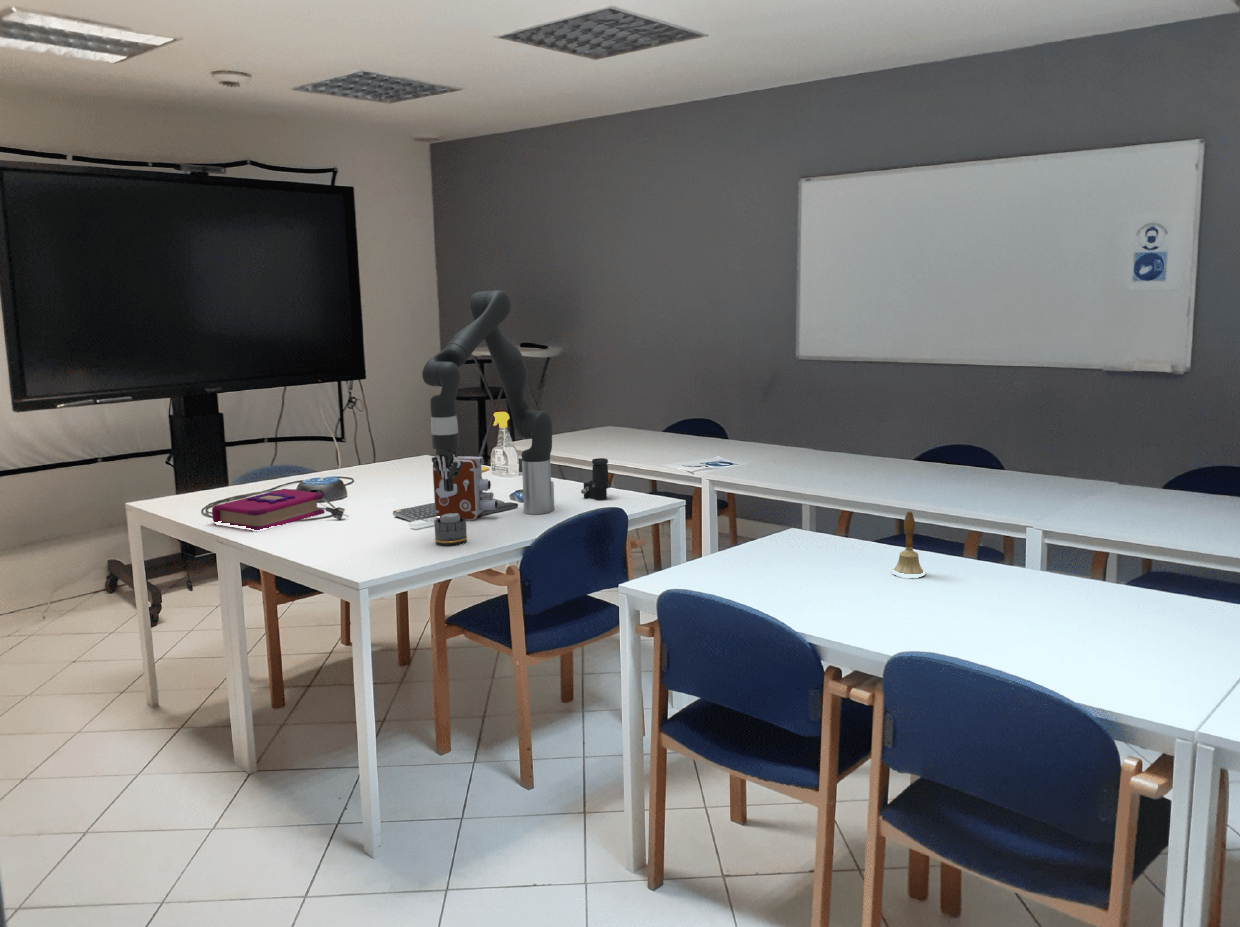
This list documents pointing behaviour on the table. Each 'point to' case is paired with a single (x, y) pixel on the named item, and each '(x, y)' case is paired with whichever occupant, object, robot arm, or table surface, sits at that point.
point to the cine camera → (464, 491)
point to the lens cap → (450, 518)
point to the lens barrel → (450, 533)
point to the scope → (597, 481)
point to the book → (269, 509)
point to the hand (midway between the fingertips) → (448, 490)
